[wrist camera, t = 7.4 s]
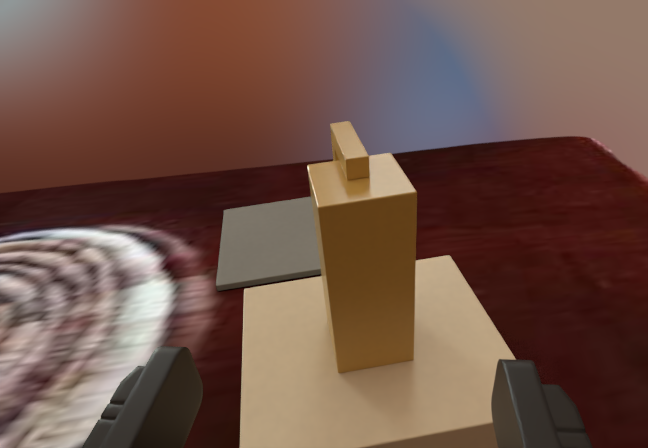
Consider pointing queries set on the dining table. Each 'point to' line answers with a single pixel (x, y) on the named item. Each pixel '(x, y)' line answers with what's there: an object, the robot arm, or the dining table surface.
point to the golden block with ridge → (365, 252)
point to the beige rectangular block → (369, 372)
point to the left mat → (267, 244)
